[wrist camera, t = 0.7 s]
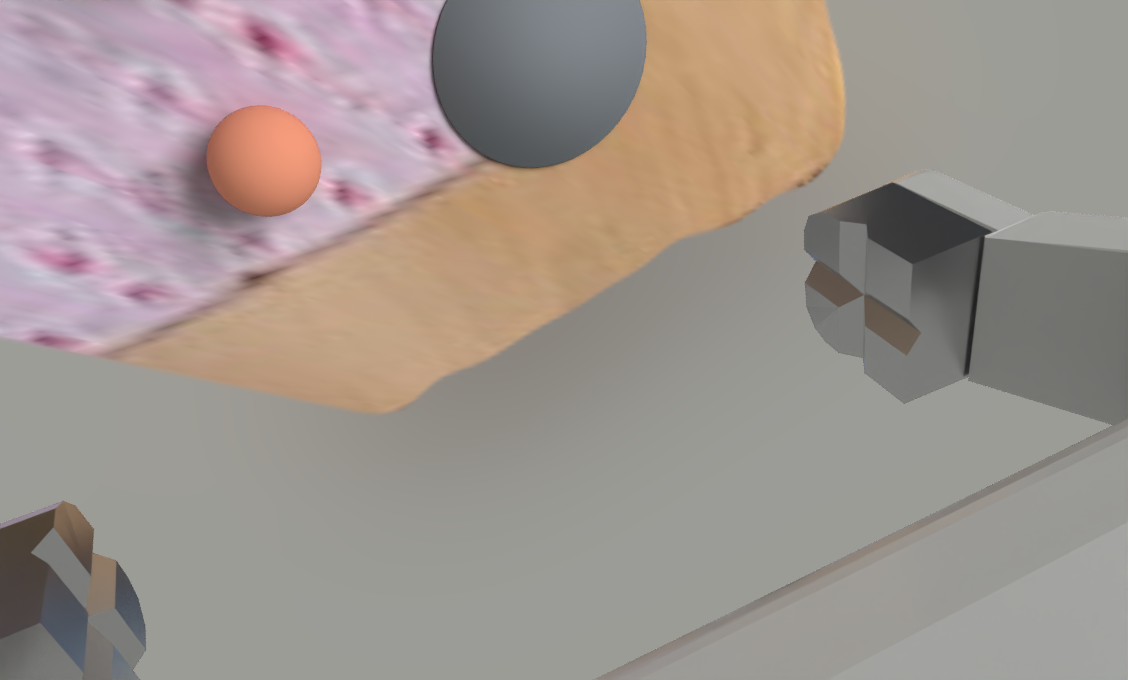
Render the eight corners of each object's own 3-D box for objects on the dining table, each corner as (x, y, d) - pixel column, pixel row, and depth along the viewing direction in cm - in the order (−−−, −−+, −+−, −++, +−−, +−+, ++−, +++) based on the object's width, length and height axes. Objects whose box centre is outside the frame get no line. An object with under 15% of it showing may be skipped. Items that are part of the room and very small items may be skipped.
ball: (185, 110, 44) (190, 145, 40) (291, 79, 45) (307, 110, 41) (227, 206, 47) (236, 248, 43) (326, 175, 49) (344, 212, 44)
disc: (404, -32, 45) (405, -32, 45) (631, -94, 48) (632, -93, 47) (463, 194, 52) (464, 195, 52) (655, 129, 55) (657, 130, 55)
